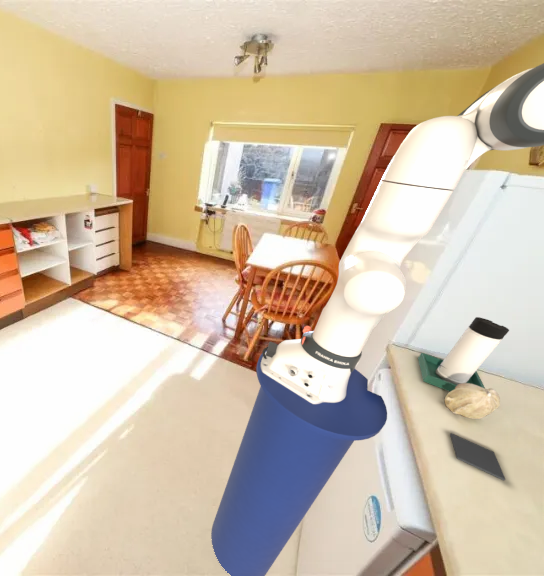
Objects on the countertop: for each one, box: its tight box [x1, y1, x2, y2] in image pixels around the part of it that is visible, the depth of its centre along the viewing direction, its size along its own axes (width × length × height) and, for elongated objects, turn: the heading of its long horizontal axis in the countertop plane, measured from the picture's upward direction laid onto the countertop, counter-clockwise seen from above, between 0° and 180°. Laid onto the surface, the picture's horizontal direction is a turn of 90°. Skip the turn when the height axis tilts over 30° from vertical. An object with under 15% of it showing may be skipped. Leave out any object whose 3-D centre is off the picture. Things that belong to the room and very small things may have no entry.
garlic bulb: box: [444, 383, 501, 420], centre depth 66 cm, size 9×8×10 cm
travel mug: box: [436, 316, 510, 385], centre depth 74 cm, size 6×7×20 cm
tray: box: [417, 352, 486, 392], centre depth 78 cm, size 13×13×2 cm
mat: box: [449, 432, 506, 481], centre depth 58 cm, size 7×7×1 cm
